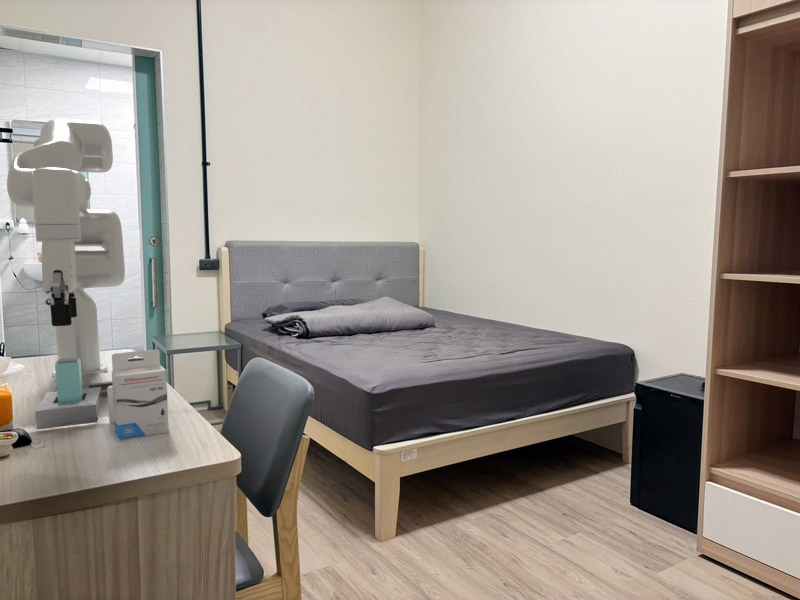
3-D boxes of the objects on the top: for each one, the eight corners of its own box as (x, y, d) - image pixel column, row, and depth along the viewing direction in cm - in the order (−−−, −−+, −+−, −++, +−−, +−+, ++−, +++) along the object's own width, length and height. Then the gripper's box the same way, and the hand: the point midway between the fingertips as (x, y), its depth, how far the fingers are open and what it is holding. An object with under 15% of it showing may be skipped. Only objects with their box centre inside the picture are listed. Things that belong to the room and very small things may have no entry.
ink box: (118, 441, 102) (113, 358, 100) (114, 433, 106) (109, 353, 104) (170, 432, 106) (165, 352, 105) (164, 424, 110) (160, 348, 109)
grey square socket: (83, 393, 132) (82, 384, 132) (126, 388, 136) (126, 380, 136) (78, 403, 124) (78, 394, 124) (125, 398, 128) (125, 389, 128)
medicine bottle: (164, 418, 114) (161, 358, 113) (131, 429, 108) (128, 365, 107) (141, 412, 118) (138, 354, 116) (108, 422, 112) (104, 361, 110)
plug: (61, 408, 117) (57, 358, 116) (83, 406, 119) (80, 356, 118) (58, 414, 114) (54, 362, 112) (82, 411, 115) (78, 360, 114)
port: (48, 408, 121) (46, 391, 120) (102, 402, 125) (100, 386, 124) (36, 429, 108) (35, 410, 108) (97, 422, 112) (95, 403, 112)
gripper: (43, 232, 119) (49, 315, 121) (27, 235, 103) (35, 330, 105) (84, 232, 122) (90, 313, 124) (76, 235, 106) (82, 327, 108)
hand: (65, 321), depth 115 cm, fingers open, 9 cm apart
